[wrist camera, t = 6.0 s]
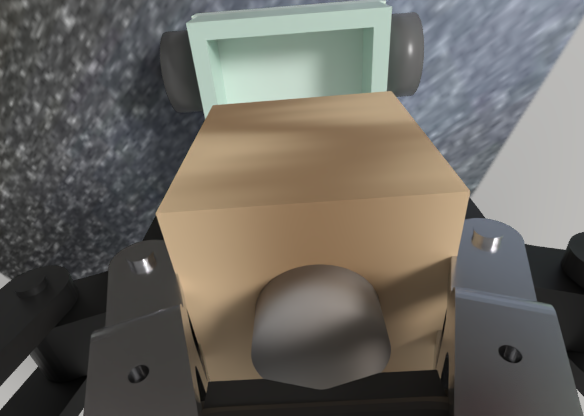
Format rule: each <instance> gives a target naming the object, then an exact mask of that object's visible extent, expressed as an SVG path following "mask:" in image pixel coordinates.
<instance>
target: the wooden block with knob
mask: <svg viewBox="0 0 584 416" xmlns="http://www.w3.org/2000/svg"><path fill="white" fill-rule="evenodd" d="M469 195H470V190H469V189H468V188H467V187H466V185H465V184H464V183H463V181H462V180H461V179H460V178H459V176H458V175H457V174H456V173H455V171H454V170H453V169H452V167H451V166H450V165H449V164H448V162H447V161H446V160H445V159H444V157H443V156H442V155H441V154H440V152H439V151H438V150H437V148H436V147H435V146H434V145H433V143H432V142H431V141H430V140H429V138H428V137H427V136H426V134H425V133H424V132H423V131H422V129H421V128H420V127H419V126H418V124H417V123H416V122H415V120H414V119H413V118H412V117H411V115H410V114H409V113H408V112H407V110H406V109H405V108H404V106H403V105H402V104H401V103H400V101H399V100H398V99H397V98H396V96H395V95H394V94H393V92H392V91H385V92H372V93H360V94H347V95H335V96H322V97H310V98H297V99H285V100H272V101H260V102H247V103H235V104H222V105H213V106H212V108H211V110H210V111H209V113H208V115H207V117H206V119H205V121H204V123H203V125H202V127H201V128H200V130H199V132H198V134H197V136H196V138H195V140H194V142H193V144H192V145H191V147H190V149H189V151H188V153H187V155H186V157H185V159H184V161H183V163H182V164H181V166H180V168H179V170H178V172H177V174H176V176H175V178H174V180H173V181H172V183H171V185H170V187H169V189H168V191H167V193H166V195H165V197H164V198H163V200H162V202H161V204H160V206H159V208H158V210H157V212H156V216H157V219H158V222H159V225H160V228H161V231H162V234H163V237H164V241H165V244H166V247H167V250H168V253H169V256H170V259H171V262H172V265H173V268H174V271H175V274H178V276H179V279H180V282H181V285H182V288H183V292H184V297H185V302H186V308H187V311H188V314H189V317H190V320H191V323H192V326H193V329H194V332H195V335H196V339H197V342H198V344H200V345H201V348H202V351H203V354H204V357H205V362H206V366H207V371H208V375H209V378H210V381H230V380H249V379H268V380H273V381H278V382H283V383H288V384H293V385H298V386H303V387H308V388H313V389H320V390H321V389H328V388H332V387H335V386H338V385H341V384H345V383H348V382H351V381H354V380H357V379H361V378H364V377H367V376H370V375H374V374H377V373H381V372H400V371H419V370H433V364H434V347H435V340H436V335H437V330H442V329H443V324H444V319H445V314H446V309H447V289H448V272H449V267H450V262H451V257H452V256H457V255H458V250H459V245H460V240H461V235H462V230H463V225H464V220H465V215H466V210H467V205H468V200H469Z"/></svg>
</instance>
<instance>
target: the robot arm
mask: <svg viewBox="0 0 584 416" xmlns="http://www.w3.org/2000/svg"><path fill="white" fill-rule="evenodd" d="M29 354H30V356H31V357H32V358H33V360H34V361H35V363H36V364H37V365H38V367H37V369H36V370H35V371H34V372H33V373H32V374H31V376H30V377H29V378H28V379H27V380H26V381H25V382H24V383H23V385H22V386H21V387H20V388H19V389H18V391H17V392H16V393H15V394H14V395H13V396H12V397H11V399H10V400H9V401H8V402H7V403H6V404H5V406H3V408H2V409H1V410H0V416H78V415H79V414H80V413H81V411H82V410H83V408H84V414H83V416H583V412H582V409H581V405H580V401H579V397H578V393H577V390H576V389H578V391H579V392H580V393H581V394H582V395H583V396H584V232H582V233H578V234H576V235H574V236H573V237H572V238H571V239H570V241H569V244H568V246H567V249H566V250H561V249H554V248H547V247H539V246H532V245H527V244H524V240H523V238H522V236H521V235H520V234H519V233H518V232H517V231H516V230H515V229H513V228H512V227H510V226H508V225H506V224H504V223H502V222H499V221H495V220H491V219H486V218H485V217H484V216H483V214H482V213H481V212H480V210H479V209H478V208H477V206H476V205H475V204H474V203H473V201H472V200H471V199H470V197H469V200H468V205H467V210H466V215H465V220H464V225H463V230H462V235H461V240H460V245H459V250H458V255H457V256H452V257H451V262H450V267H449V272H448V289H447V309H446V314H445V319H444V324H443V329H442V330H437V335H436V340H435V347H434V364H433V370H419V371H400V372H381V373H377V374H374V375H370V376H367V377H364V378H361V379H357V380H354V381H351V382H348V383H345V384H341V385H338V386H335V387H332V388H328V389H321V390H320V389H313V388H308V387H303V386H298V385H293V384H288V383H283V382H278V381H273V380H268V379H249V380H230V381H211V382H210V381H209V376H208V371H207V366H206V362H205V357H204V354H203V351H202V348H201V345H200V344H198V342H197V339H196V335H195V332H194V329H193V326H192V323H191V320H190V317H189V314H188V311H187V308H186V302H185V297H184V292H183V288H182V285H181V282H180V279H179V276H178V274H175V271H174V268H173V265H172V262H171V259H170V256H169V253H168V250H167V247H166V244H165V241H164V237H163V234H162V231H161V228H160V225H159V222H158V219H157V216H155V218H154V220H153V222H152V224H151V226H150V228H149V230H148V232H147V233H146V235H145V237H144V239H143V241H141V242H138V243H135V244H132V245H130V246H128V247H126V248H124V249H123V250H121V251H120V252H119V253H117V254H116V255H115V256H114V257H113V259H112V260H111V262H110V264H109V268H108V271H106V272H103V273H100V274H96V275H93V276H89V277H86V278H82V279H78V280H75V281H73V280H72V278H71V276H70V274H69V272H68V270H67V269H65V268H64V267H61V266H53V265H52V266H44V267H39V268H36V269H33V270H30V271H27V272H25V273H23V274H21V275H19V276H17V277H16V278H14V279H13V280H11V281H10V282H9V283H7V284H6V285H5V286H4V287H3V288H1V289H0V386H1V385H2V384H3V383H4V381H5V380H6V379H7V378H8V377H9V376H10V375H11V374H12V373H13V372H14V371H15V369H17V367H18V366H19V365H20V364H21V363H22V362H23V361H24V360H25V359H26V358H27V356H28V355H29Z"/></svg>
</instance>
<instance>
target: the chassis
mask: <svg viewBox="0 0 584 416" xmlns="http://www.w3.org/2000/svg"><path fill="white" fill-rule="evenodd" d="M191 17H192V20H190V21H189V22H187V23H186V26H187V30H184V31H172V32H164V33H163V35H162V37H161V42H160V64H161V71H162V77H163V82H164V86H165V89H166V93H167V96H168V98H169V101H170V103H171V105H172V107H173V108H174V109H175V111H177V112H178V113H184V112H197V111H204V116H205V119H206V117H207V115H208V113H209V111H210V110H211V108H212V106H213V105H222V104H235V103H247V102H260V101H272V100H285V99H297V98H310V97H322V96H335V95H347V94H360V93H372V92H385V91H392V92H393V94H394V95H395V96H396V97H401V96H412V95H414V93H415V92H416V90H417V88H418V86H419V83H420V79H421V74H422V68H423V59H424V37H423V29H422V24H421V20H420V18H419V16H418V14H417V13H415V12H412V13H399V14H392V7H391V6H389V5H387V4H386V1H385V0H359V1H346V2H334V3H321V4H309V5H296V6H284V7H272V8H259V9H247V10H234V11H222V12H209V13H197V14H195V15H193V16H191Z"/></svg>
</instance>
